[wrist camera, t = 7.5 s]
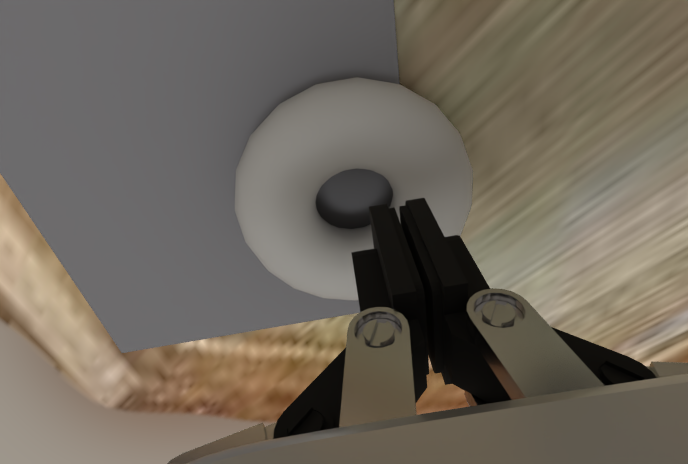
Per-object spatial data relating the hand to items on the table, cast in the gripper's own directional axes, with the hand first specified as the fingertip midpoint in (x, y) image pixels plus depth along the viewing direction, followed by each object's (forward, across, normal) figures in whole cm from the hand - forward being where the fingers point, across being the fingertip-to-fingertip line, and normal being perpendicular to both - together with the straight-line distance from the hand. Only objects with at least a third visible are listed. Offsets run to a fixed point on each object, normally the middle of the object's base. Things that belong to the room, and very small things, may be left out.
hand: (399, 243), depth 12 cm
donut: (+5, -4, 0) cm, 7 cm away
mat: (+7, +7, 0) cm, 10 cm away
